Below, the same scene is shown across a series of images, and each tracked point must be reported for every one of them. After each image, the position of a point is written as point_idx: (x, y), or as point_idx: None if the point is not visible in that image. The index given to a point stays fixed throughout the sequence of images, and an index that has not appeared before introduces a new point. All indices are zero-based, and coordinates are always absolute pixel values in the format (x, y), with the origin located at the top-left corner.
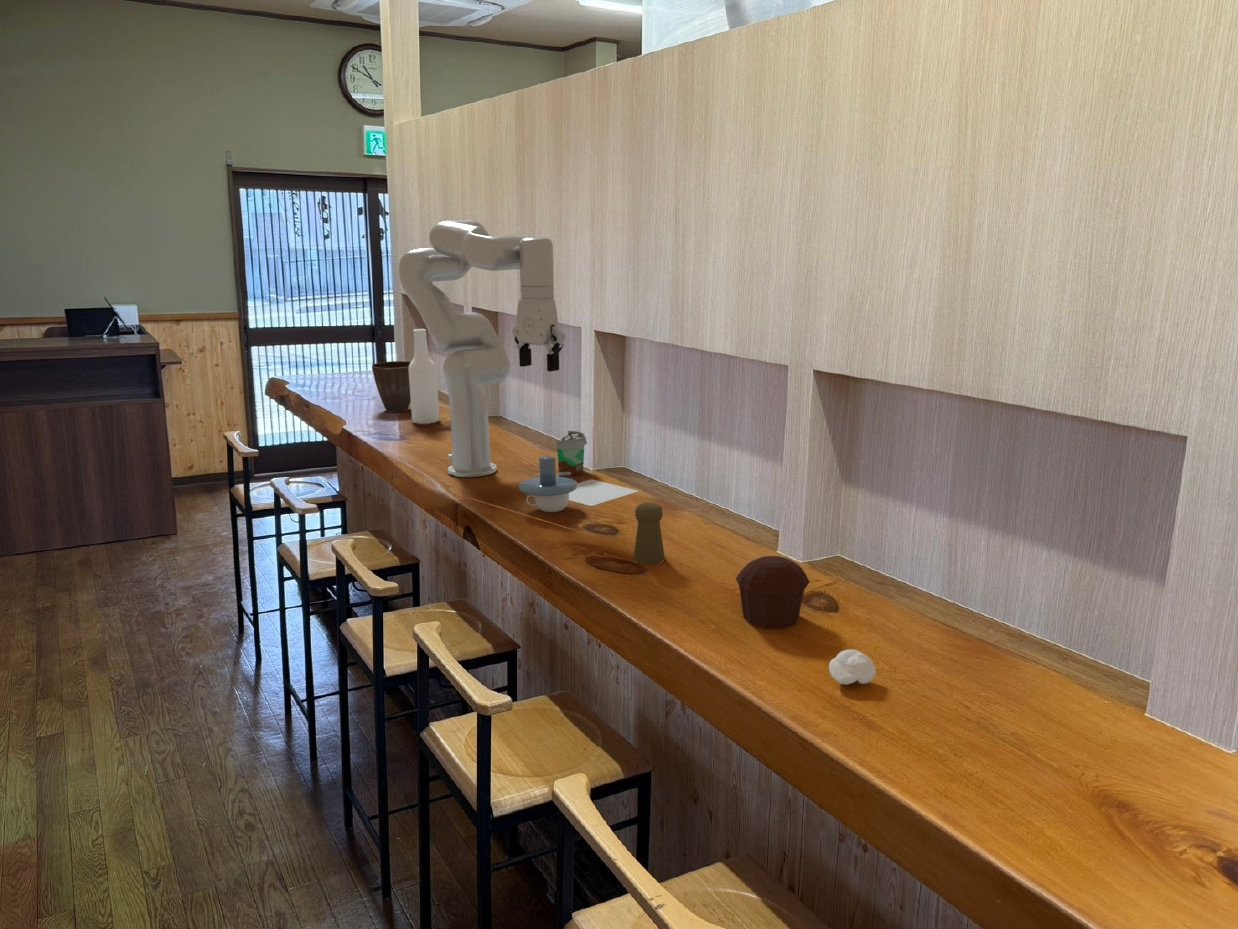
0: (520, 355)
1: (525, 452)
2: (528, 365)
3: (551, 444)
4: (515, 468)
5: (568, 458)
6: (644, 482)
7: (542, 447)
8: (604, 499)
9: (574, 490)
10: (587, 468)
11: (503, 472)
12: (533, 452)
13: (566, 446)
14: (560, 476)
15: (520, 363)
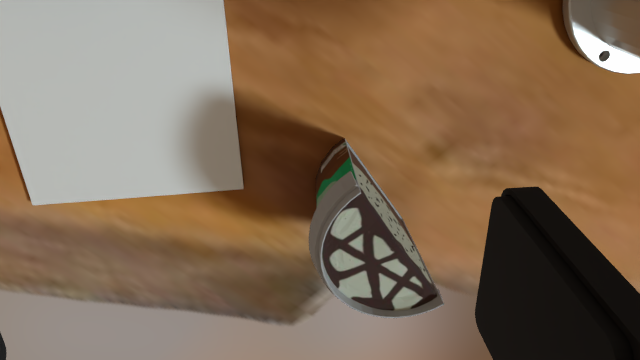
0: (586, 275)
1: (636, 239)
2: (488, 286)
3: None
4: (542, 113)
5: (325, 188)
6: (122, 274)
7: None
8: (9, 71)
9: (172, 71)
10: None
11: (544, 55)
12: (614, 254)
13: (325, 202)
14: (340, 142)
15: (531, 202)
